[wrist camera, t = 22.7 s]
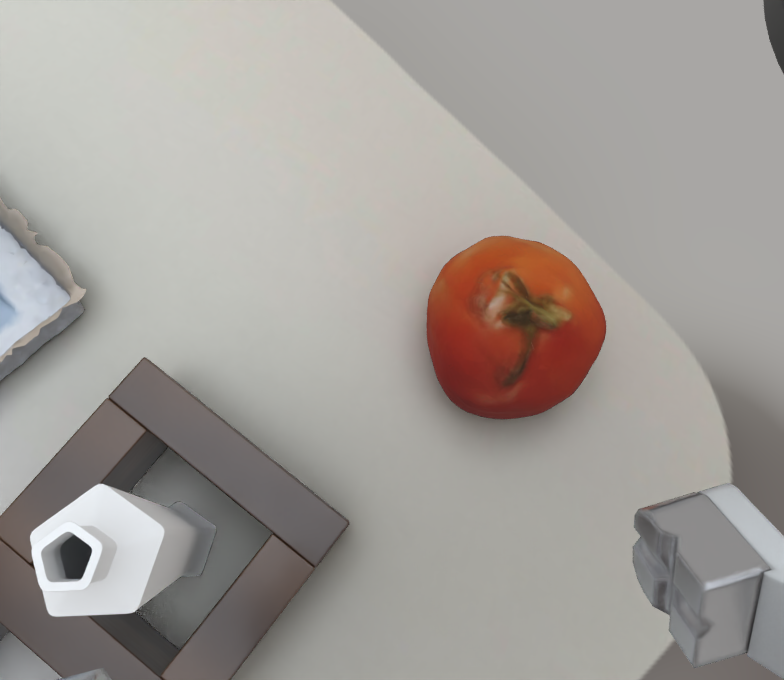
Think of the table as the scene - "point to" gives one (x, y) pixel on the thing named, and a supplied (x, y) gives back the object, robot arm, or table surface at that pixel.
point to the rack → (122, 471)
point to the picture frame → (31, 292)
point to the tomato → (512, 328)
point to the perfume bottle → (116, 552)
